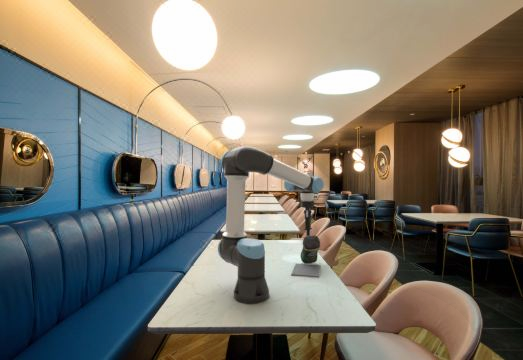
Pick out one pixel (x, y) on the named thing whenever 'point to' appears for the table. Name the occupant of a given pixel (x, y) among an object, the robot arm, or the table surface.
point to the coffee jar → (310, 249)
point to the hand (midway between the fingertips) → (308, 240)
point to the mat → (306, 270)
